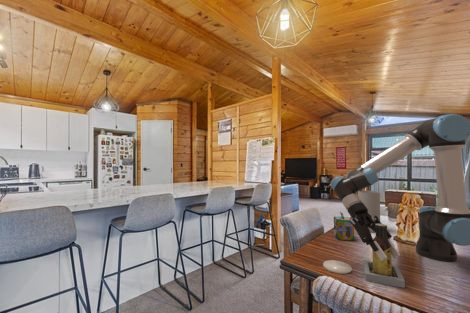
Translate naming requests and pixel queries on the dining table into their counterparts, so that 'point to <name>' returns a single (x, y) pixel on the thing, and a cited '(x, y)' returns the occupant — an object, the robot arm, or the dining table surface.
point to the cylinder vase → (371, 203)
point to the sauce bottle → (383, 242)
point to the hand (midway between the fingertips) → (390, 257)
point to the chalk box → (343, 228)
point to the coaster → (337, 267)
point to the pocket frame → (384, 279)
